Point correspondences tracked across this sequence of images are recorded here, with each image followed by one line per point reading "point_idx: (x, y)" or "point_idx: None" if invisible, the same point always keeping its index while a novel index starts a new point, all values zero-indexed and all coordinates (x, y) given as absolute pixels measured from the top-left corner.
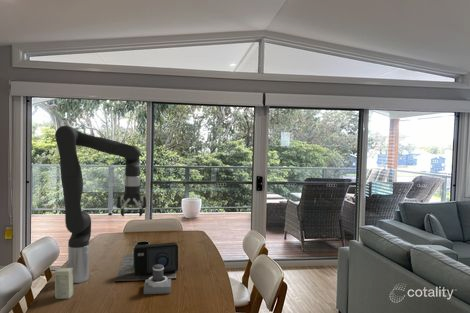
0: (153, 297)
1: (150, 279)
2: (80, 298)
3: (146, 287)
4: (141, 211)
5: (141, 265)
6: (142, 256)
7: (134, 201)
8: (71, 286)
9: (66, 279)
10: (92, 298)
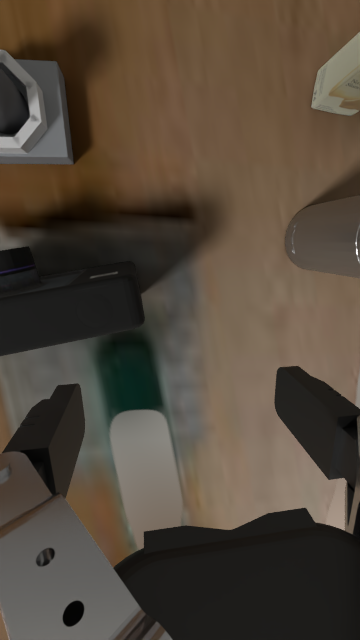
0: (15, 36)
1: (29, 95)
2: (282, 69)
3: (44, 61)
4: (27, 434)
5: (106, 268)
6: (97, 275)
7: (148, 631)
8: (336, 71)
9: None
10: (243, 63)
